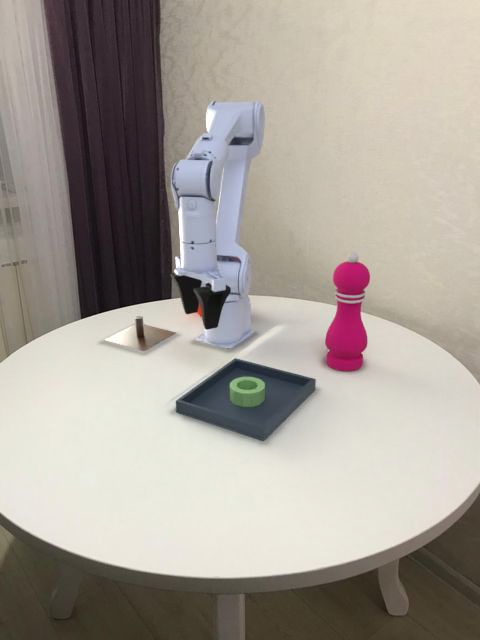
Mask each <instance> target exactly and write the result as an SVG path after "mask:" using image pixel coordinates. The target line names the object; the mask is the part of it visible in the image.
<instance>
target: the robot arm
mask: <svg viewBox="0 0 480 640" xmlns="http://www.w3.org/2000/svg"><path fill="white" fill-rule="evenodd" d="M265 122H266V114H265V106H264V104H263V103H262V102H261V101H260V100H255V101H216V100H212V101H211V102H210V103H209V104H208V105H207V108H206V113H205V125H206V131H207V132H206V133H205V132H204V133H202V134H201V135H199V137H198V138H197V139H196V140H195V142H194V145H193V146H192V147H191V149H190V151H189V152H188V154H187V156H186V157H185V159H180V160H179V161H178V162H176V163H174V164H173V166H172V170H171V174H170V186H171V193H172V196H173V199H174V209H175V211H178V225H179V226H178V227H179V246H180V247H179V249H180V255H177V256H175V268H174V271H173V272H171V273H170V278H171V279H172V281H173V283H174V285H175V286H176V289H177V291H178V294H179V297H180V300H181V304H182V308H183V310H184V314H185V315H191V314H194V313H195V314H196V313H197V312H198V308H199V304H200V307H201V312H202V316H201V319H202V325H203V327H204V333H203V334H201V335H200V336H198V337H197V338H195V341H198V342H201V343H205V344H209V345H213V346H217V347H221V348H226V349H233V348H234V347H235V346H237V345H238V344H240V343H241V342H242V341H244V340H245V339H247V338H248V337H249V336H251V335H253V334H254V333H255V332H256V331H255V330H252V303H251V299H250V297H249V295H248V294H249V292H250V288H251V283H252V259H251V256H250V254H249V253H248V252H247V250H246V249H244V248H243V247H242V246H240V238H241V230H242V223H243V216H244V209H245V208H244V207H245V201H246V193H247V186H248V177H249V172H250V167H251V163H252V159H254V158H256V157H257V156H259V155H260V154H261V150H262V148H263V143H264V135H265V126H266V123H265ZM217 199H218V205H217V201H216V200H217Z"/></svg>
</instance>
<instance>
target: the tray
mask: <svg viewBox="0 0 480 640" xmlns="http://www.w3.org/2000/svg"><path fill="white" fill-rule="evenodd" d="M240 377H254V378H258V379H260V380H262V381H263V382H264V383H265V400H264V402H262V403H261V404H260V405H257V406H254V407H241V406H238V405H235V404H233V403H232V402H231V401H230V382H232V381H233V380H234V379H237V378H240ZM316 382H317V379H316V378H313V377H310V376H306V375H302V374H297V373H294V372H290V371H286V370H283V369H280V368H279V369H278V368H275V367H271V366H267V365H264V364H259V363H255V362H252V361H247V360H244V359H240V358H237V357H235V358H233V359H232V360H230V361H229V362H228V363H226V364H225V365H224V366H222V367H220V368H219V369H217V370H216V371H215V372H213V373H212V374H211V375H210V376H208V377H207V378H205V379H204V380H203V381H201V382H200V383H198V384H197V385H196V386H194V387H193V388H191V389H190V390H188V391H187V392H186V393H184V394H183V395H182V396H180V397H178V399H176V400H175V412H176V413H177V414H181V415H183V416H187V417H190V418H193V419H196V420H199V421H202V422H205V423H208V424H210V425H214V426H217V427H220V428H223V429H226V430H229V431H232V432H235V433H238V434H241V435H245V436H248V437H251V438H253V439H256V440H259V441H262V442H265V440H266V439H268V437H269V436H271V435H272V434H273V433H274V432H275V430H277V429H278V428H279V427H280V426H281V425H282V423H284V422H285V421H286V420H287V419H288V418H289V417H290V416H291V415H292V414H293V413H294V411H296V410H297V409H298V408H299V407H300V406H301V405H302V404H303V403H304V402H305V401H306V400H307V399H308V397H310V396H311V395H312V394H313V393H314V392H315V391H316Z"/></svg>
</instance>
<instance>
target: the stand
mask: <svg viewBox="0 0 480 640" xmlns="http://www.w3.org/2000/svg"><path fill="white" fill-rule="evenodd" d="M175 334H177V332H176V331H172V330H168V329H163V328H160V327H155V326H151V325H147V324H144V317H143V316H141V315H138V316H135V317H134V324H132V325H130V326H128V327H126V328H124V329H122V330H121V331H118V332H117V333H114V334H112V335H111V336H109V337H106V338H104V339H103V341H106V342H108V343H112V344H115V345H120V346H123V347H127V348H130V349H134V350H136V351H137V350H138V351H141V352H146V351H147V350H149V349H151V348H153V347H154V346H156V345H158V344H160V343H161V342H164V341H165V340H166V339H168V338H170V337H172V336H174V335H175Z"/></svg>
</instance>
